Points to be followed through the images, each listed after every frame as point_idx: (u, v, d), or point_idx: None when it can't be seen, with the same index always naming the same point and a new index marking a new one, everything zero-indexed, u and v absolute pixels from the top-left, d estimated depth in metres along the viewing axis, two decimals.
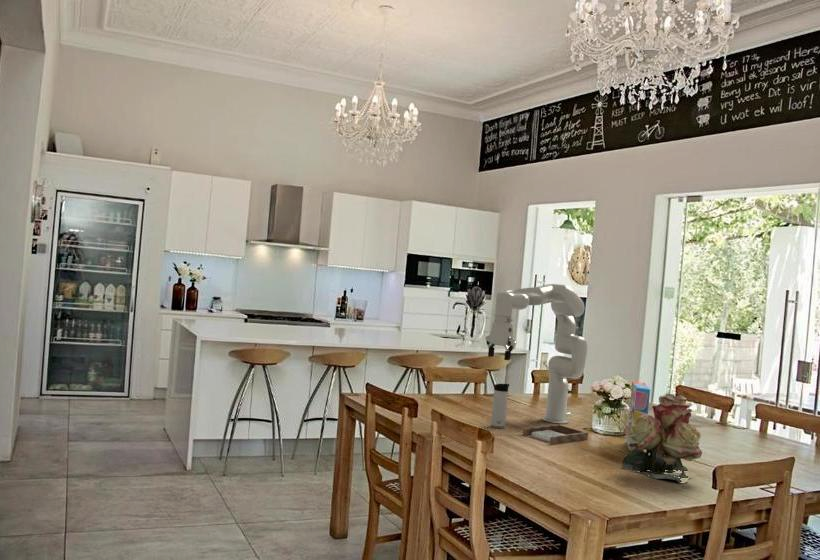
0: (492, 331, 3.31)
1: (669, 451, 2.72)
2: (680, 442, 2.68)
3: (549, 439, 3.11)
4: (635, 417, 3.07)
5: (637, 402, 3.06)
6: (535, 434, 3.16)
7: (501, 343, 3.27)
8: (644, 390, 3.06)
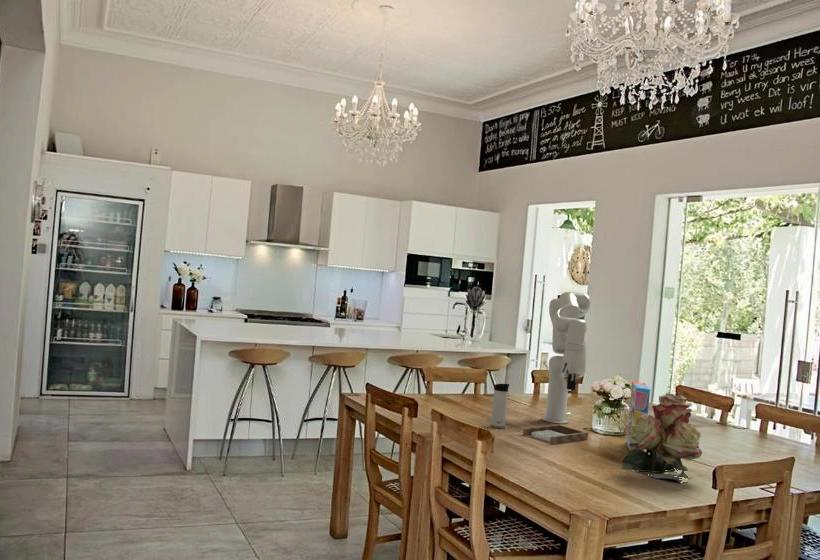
0: (573, 361, 3.21)
1: (669, 451, 2.72)
2: (680, 442, 2.69)
3: (549, 439, 3.11)
4: (635, 417, 3.07)
5: (637, 402, 3.06)
6: (535, 434, 3.16)
7: (579, 371, 3.25)
8: (644, 390, 3.06)
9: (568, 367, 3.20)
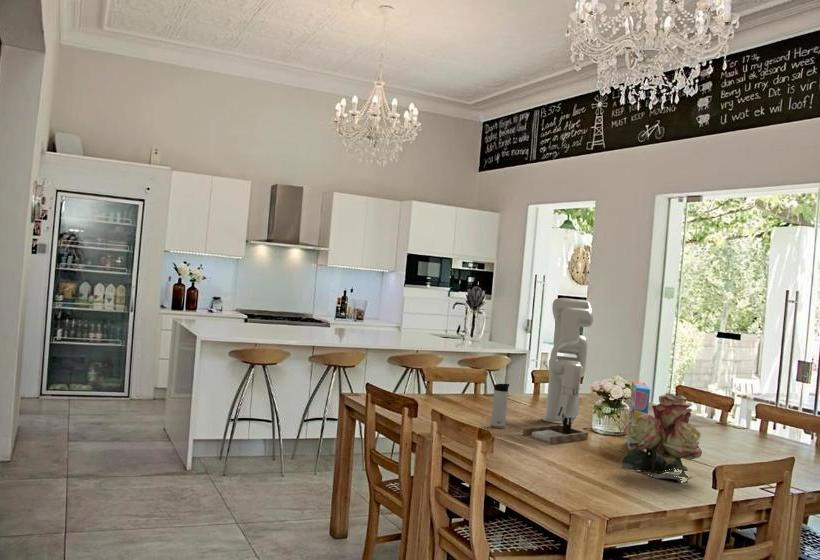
0: (568, 405, 3.21)
1: (669, 451, 2.73)
2: (680, 442, 2.69)
3: (549, 439, 3.11)
4: (635, 417, 3.07)
5: (637, 402, 3.06)
6: (535, 434, 3.16)
7: (575, 415, 3.25)
8: (644, 390, 3.06)
9: (564, 411, 3.21)
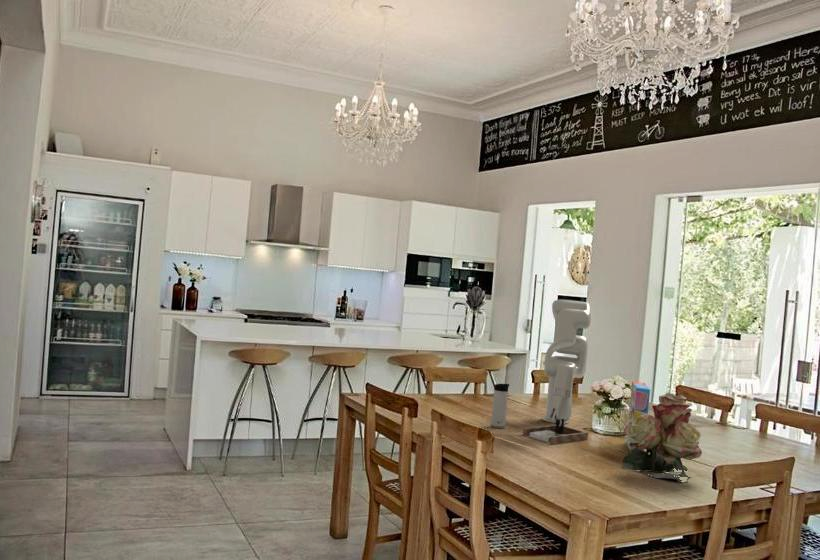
0: (561, 406, 3.18)
1: (669, 450, 2.73)
2: (680, 441, 2.70)
3: (547, 439, 3.10)
4: (635, 417, 3.07)
5: (637, 402, 3.06)
6: (533, 434, 3.15)
7: (568, 416, 3.22)
8: (644, 390, 3.06)
9: (556, 413, 3.18)
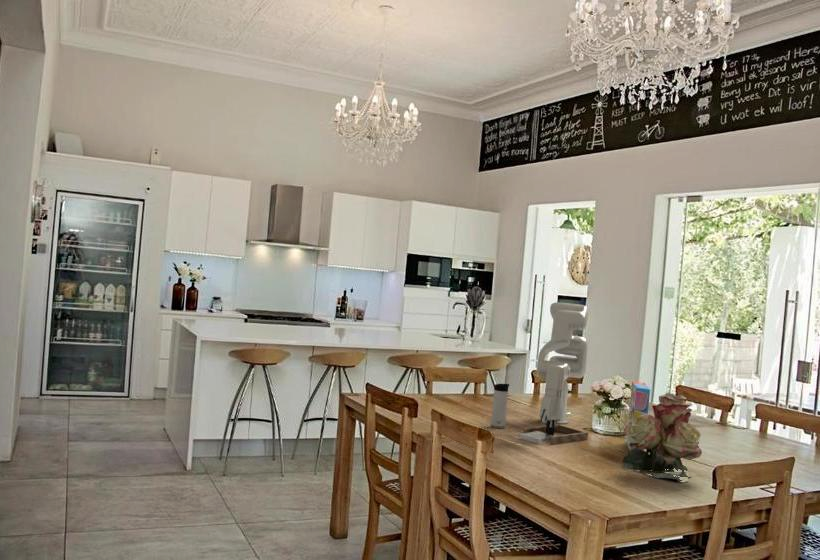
0: (551, 407, 3.14)
1: (669, 450, 2.73)
2: (680, 441, 2.70)
3: (538, 441, 3.05)
4: (635, 417, 3.07)
5: (637, 402, 3.06)
6: (524, 436, 3.11)
7: (558, 417, 3.18)
8: (644, 390, 3.06)
9: (546, 414, 3.13)
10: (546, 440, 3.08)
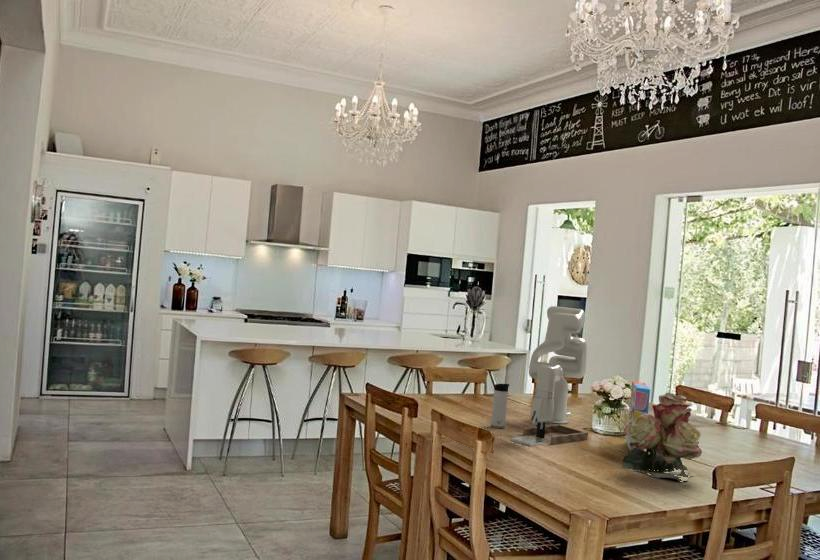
0: (542, 409, 3.10)
1: (669, 450, 2.73)
2: (680, 441, 2.70)
3: None
4: (635, 417, 3.07)
5: (637, 402, 3.06)
6: (514, 440, 3.06)
7: (549, 419, 3.14)
8: (644, 390, 3.06)
9: (537, 415, 3.09)
10: (537, 444, 3.04)
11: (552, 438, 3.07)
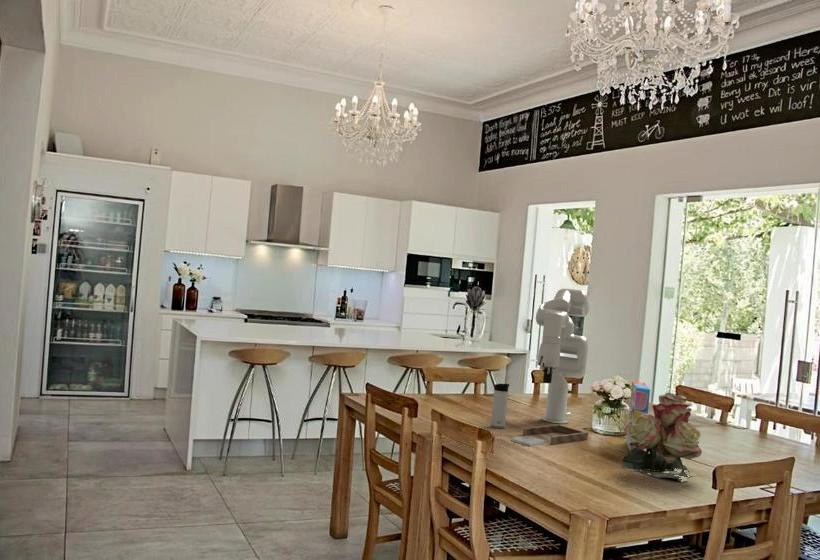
0: (549, 354, 3.16)
1: (669, 450, 2.74)
2: (680, 441, 2.70)
3: (529, 445, 3.00)
4: (635, 417, 3.07)
5: (637, 402, 3.06)
6: (514, 440, 3.06)
7: (556, 364, 3.21)
8: (644, 390, 3.06)
9: (544, 360, 3.16)
10: (536, 444, 3.03)
11: (552, 438, 3.07)
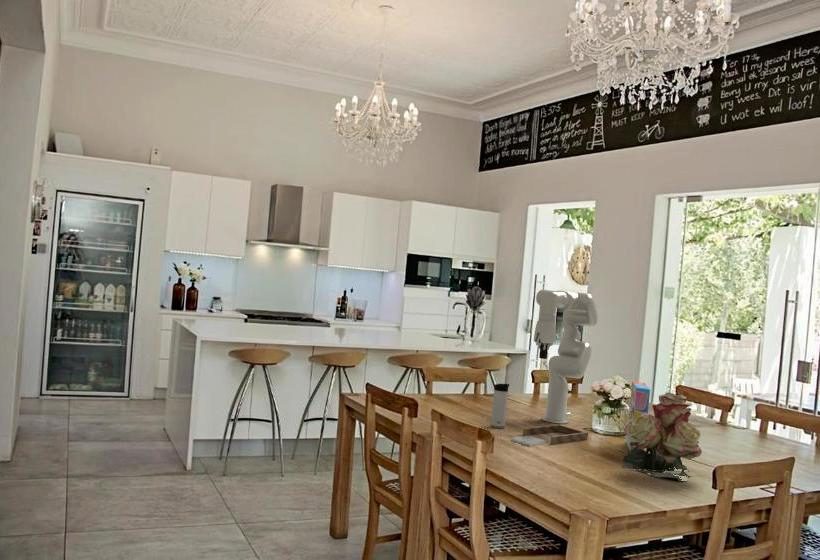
0: (545, 331, 3.34)
1: (669, 450, 2.74)
2: (680, 441, 2.71)
3: (528, 445, 3.00)
4: (635, 417, 3.07)
5: (637, 402, 3.06)
6: (514, 440, 3.06)
7: (551, 341, 3.38)
8: (644, 390, 3.06)
9: (540, 337, 3.33)
10: (536, 444, 3.03)
11: (552, 438, 3.07)
